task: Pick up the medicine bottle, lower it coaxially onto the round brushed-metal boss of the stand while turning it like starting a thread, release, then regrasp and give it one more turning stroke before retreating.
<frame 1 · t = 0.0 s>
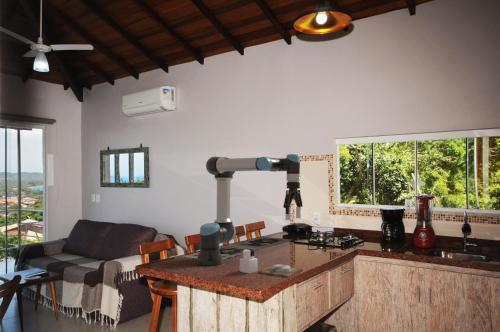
hand: (293, 219, 208), 28 cm above the worktop, fingers open, 13 cm apart
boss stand: (280, 271, 200), on the worktop
medicine bottle: (248, 272, 200), on the worktop
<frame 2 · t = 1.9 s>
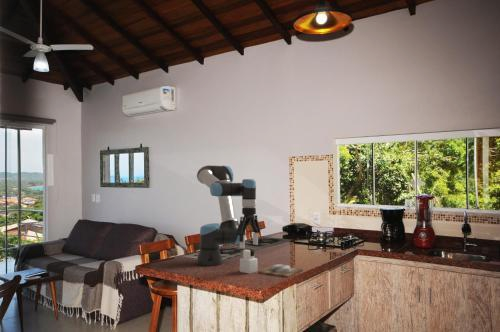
hand: (248, 246, 201), 14 cm above the worktop, fingers open, 13 cm apart
nothing on the worktop moved.
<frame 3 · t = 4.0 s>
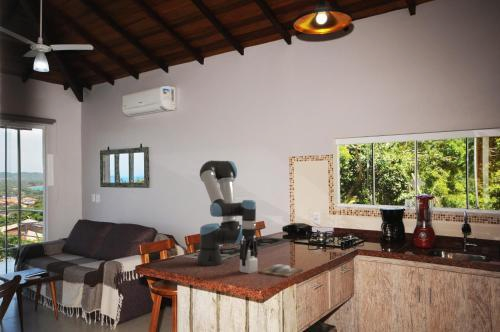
hand: (248, 270, 200), 1 cm above the worktop, fingers closed on medicine bottle, 8 cm apart
medicine bottle: (248, 272, 200), on the worktop, touching gripper
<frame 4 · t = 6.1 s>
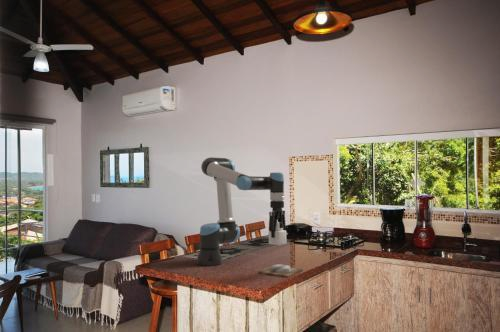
hand: (277, 242, 200), 16 cm above the worktop, fingers closed on medicine bottle, 8 cm apart
medicine bottle: (277, 244, 200), point 15 cm above the worktop, touching gripper
when the fingers open (5 cm above the worktop, at t = 8.6 s): medicine bottle drops 1 cm, resting on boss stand.
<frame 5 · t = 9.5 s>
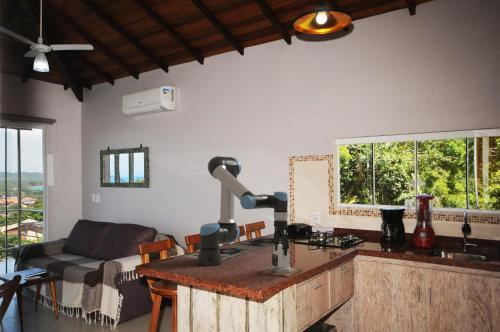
hand: (280, 259, 200), 7 cm above the worktop, fingers open, 13 cm apart
medicine bottle: (280, 266, 200), point 3 cm above the worktop, touching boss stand
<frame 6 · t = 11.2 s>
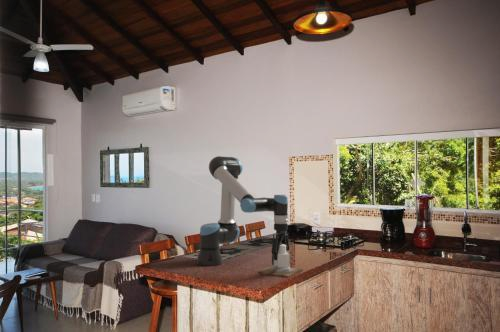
hand: (280, 264, 200), 4 cm above the worktop, fingers closed on medicine bottle, 10 cm apart
medicine bottle: (280, 266, 200), point 3 cm above the worktop, touching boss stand, gripper
when the fingers open (6 cm above the worktop, at t = 12.6 s): medicine bottle drops 1 cm, resting on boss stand.
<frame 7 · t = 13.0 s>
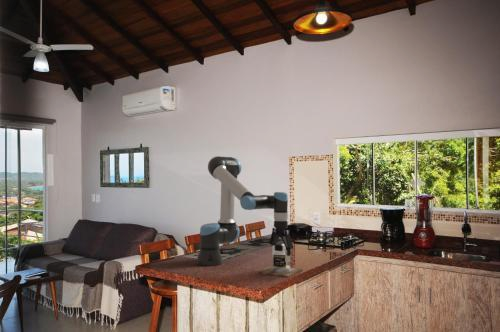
hand: (280, 259, 200), 7 cm above the worktop, fingers open, 13 cm apart
medicine bottle: (280, 266, 200), point 3 cm above the worktop, touching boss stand
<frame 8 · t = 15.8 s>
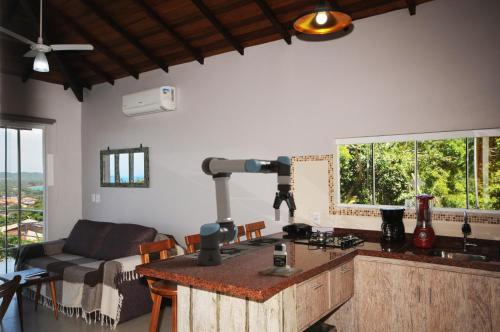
hand: (284, 221, 205), 27 cm above the worktop, fingers open, 13 cm apart
nothing on the worktop moved.
at the end: medicine bottle 0.3 cm from the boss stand (horizontally); medicine bottle point 2.8 cm above the worktop; medicine bottle tilted 0° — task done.
